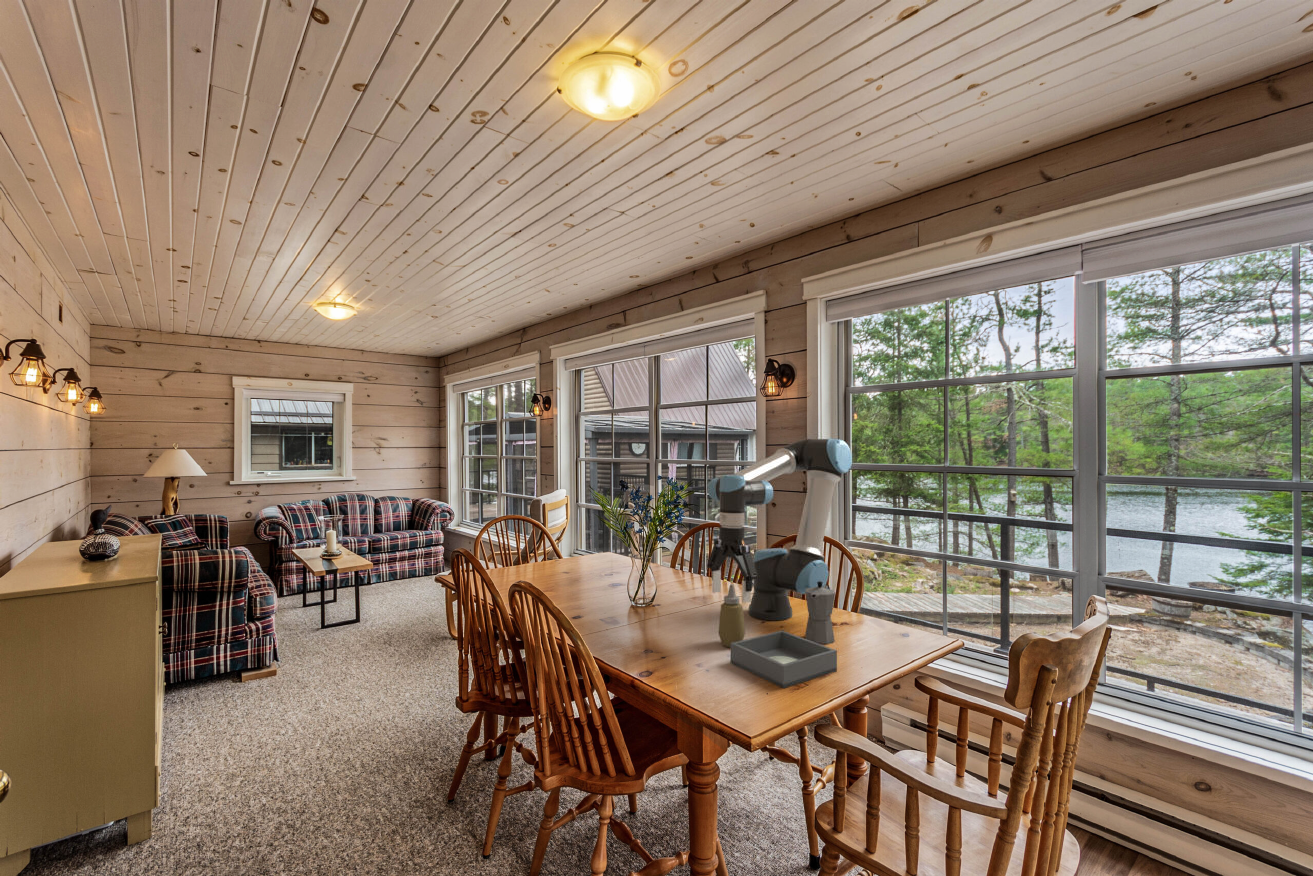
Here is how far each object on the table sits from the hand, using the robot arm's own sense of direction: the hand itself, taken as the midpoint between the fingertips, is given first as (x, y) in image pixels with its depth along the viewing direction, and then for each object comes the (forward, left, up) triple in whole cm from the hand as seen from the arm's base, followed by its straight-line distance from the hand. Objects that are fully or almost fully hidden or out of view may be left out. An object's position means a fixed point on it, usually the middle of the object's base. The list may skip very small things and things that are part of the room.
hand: (730, 597), depth 178 cm
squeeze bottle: (0, 0, -15) cm, 15 cm away
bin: (0, +21, -14) cm, 25 cm away
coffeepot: (-27, +11, -15) cm, 33 cm away
